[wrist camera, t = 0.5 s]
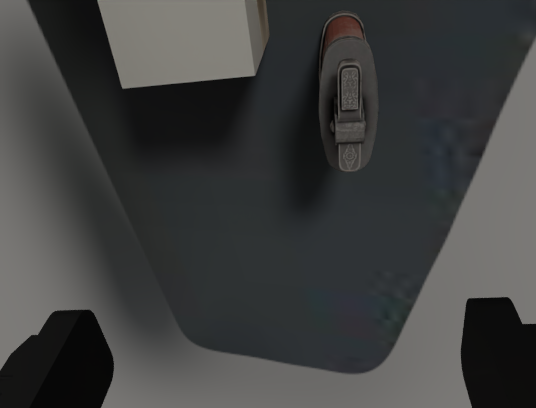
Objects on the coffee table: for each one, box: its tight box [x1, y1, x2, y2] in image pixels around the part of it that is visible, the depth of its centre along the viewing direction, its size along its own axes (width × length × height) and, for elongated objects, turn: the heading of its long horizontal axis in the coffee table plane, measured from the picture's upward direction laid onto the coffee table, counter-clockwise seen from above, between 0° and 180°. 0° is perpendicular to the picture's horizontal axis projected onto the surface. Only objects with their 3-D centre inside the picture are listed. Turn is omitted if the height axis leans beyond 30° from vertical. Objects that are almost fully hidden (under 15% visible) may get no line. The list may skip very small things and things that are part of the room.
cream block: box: [97, 0, 263, 89], centre depth 27 cm, size 8×8×4 cm
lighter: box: [319, 11, 378, 172], centre depth 31 cm, size 8×3×10 cm, turn 5°
